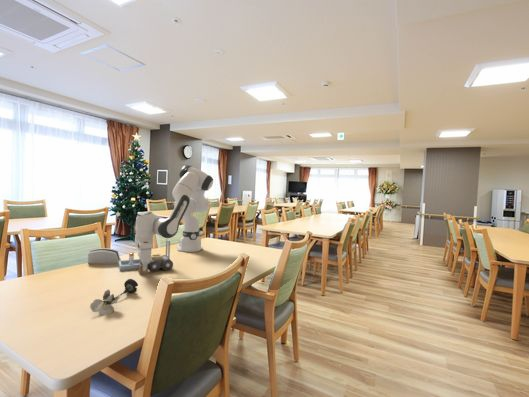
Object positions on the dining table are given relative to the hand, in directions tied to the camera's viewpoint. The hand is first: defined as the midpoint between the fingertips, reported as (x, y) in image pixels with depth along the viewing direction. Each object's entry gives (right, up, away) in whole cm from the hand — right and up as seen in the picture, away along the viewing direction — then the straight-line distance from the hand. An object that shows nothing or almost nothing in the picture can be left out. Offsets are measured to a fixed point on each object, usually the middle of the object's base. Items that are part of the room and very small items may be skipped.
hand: (143, 267), depth 145 cm
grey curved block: (-29, -1, +14) cm, 32 cm away
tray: (-11, -2, +9) cm, 14 cm away
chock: (0, -3, 0) cm, 3 cm away
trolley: (+5, -3, +9) cm, 11 cm away
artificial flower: (+7, -5, -37) cm, 38 cm away
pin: (-11, -1, +9) cm, 14 cm away
